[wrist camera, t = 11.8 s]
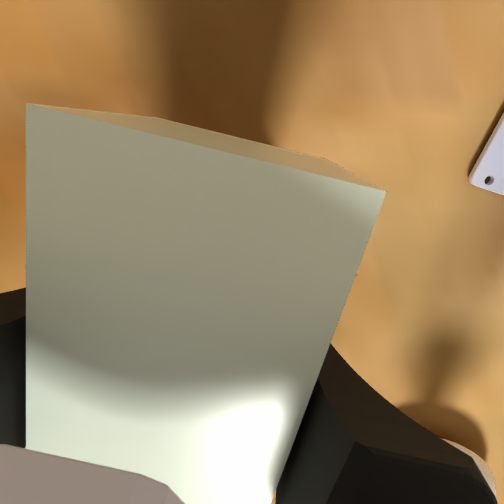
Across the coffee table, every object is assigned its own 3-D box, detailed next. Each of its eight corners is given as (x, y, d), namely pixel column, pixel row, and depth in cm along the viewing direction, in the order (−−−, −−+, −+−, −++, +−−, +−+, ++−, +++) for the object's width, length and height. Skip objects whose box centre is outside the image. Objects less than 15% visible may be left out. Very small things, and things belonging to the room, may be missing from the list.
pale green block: (326, 159, 12) (386, 191, 6) (251, 410, 16) (237, 593, 10) (156, 116, 12) (25, 102, 5) (123, 382, 16) (25, 549, 9)
